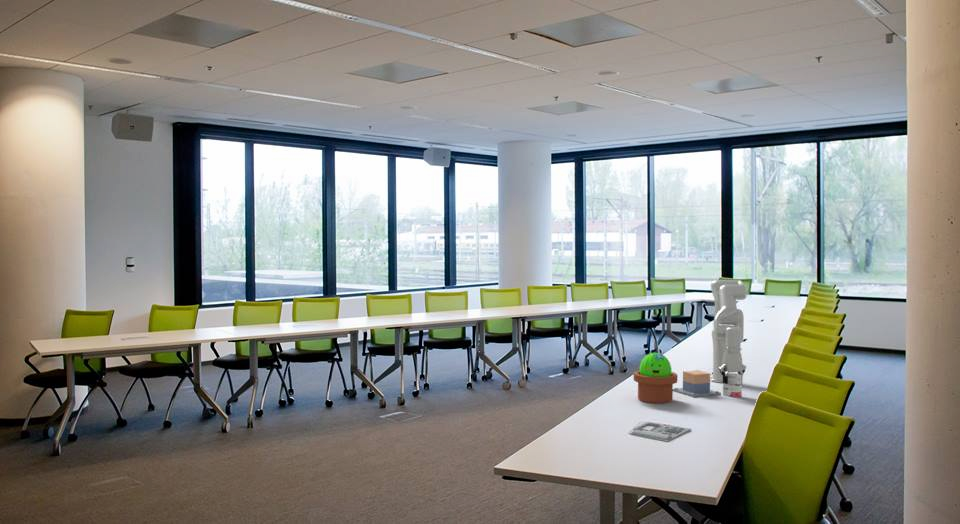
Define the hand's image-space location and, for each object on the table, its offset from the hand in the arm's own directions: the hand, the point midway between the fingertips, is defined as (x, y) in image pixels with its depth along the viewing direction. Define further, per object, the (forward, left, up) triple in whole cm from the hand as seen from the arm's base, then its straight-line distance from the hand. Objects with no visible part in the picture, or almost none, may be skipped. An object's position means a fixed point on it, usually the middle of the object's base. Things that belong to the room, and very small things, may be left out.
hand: (732, 382), depth 387 cm
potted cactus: (+44, -7, -7) cm, 45 cm away
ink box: (0, 0, -7) cm, 7 cm away
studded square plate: (+13, -13, -7) cm, 20 cm away
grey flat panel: (+81, +46, -8) cm, 93 cm away
